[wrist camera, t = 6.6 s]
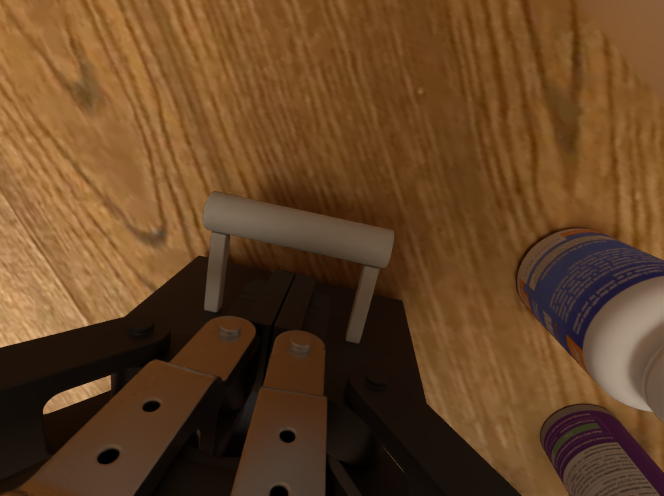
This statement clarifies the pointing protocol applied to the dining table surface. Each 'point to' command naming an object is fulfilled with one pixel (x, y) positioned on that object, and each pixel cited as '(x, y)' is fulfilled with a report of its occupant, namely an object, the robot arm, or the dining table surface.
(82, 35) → the dining table surface
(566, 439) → the container
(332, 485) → the sliding drawer
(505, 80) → the dining table surface
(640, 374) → the pill bottle
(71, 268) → the dining table surface
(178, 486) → the robot arm
